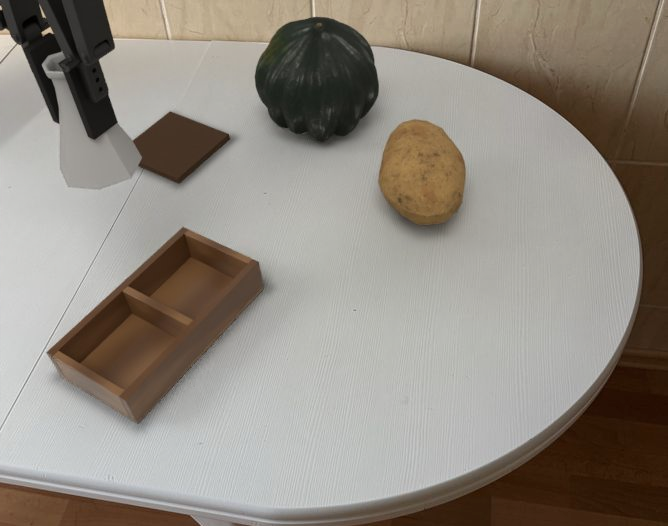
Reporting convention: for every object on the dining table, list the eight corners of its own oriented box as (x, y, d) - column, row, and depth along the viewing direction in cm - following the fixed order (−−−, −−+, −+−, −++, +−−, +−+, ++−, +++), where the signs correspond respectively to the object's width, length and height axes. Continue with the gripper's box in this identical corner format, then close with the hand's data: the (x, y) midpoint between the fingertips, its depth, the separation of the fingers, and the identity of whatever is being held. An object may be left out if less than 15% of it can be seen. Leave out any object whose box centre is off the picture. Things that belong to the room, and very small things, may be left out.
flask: (143, 135, 65) (110, 31, 57) (142, 186, 60) (107, 81, 52) (63, 146, 64) (20, 42, 56) (57, 198, 60) (9, 94, 52)
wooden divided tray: (61, 377, 68) (45, 352, 65) (191, 253, 77) (183, 226, 74) (137, 424, 64) (125, 400, 61) (264, 288, 74) (259, 261, 70)
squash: (294, 32, 94) (254, -18, 79) (401, 53, 90) (379, 5, 76) (268, 138, 96) (223, 108, 81) (372, 163, 92) (345, 136, 78)
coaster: (118, 157, 88) (116, 152, 88) (171, 116, 93) (169, 110, 92) (178, 183, 85) (177, 178, 84) (230, 139, 89) (229, 133, 89)
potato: (384, 253, 76) (385, 196, 69) (372, 170, 84) (371, 112, 78) (474, 246, 76) (483, 188, 69) (453, 163, 84) (459, 105, 78)
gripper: (101, -231, 39) (189, 129, 58) (-83, -264, 45) (51, 71, 64) (-6, -188, 35) (125, 180, 54) (-190, -230, 41) (-15, 115, 60)
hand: (85, 121), depth 59 cm, fingers closed on flask, 3 cm apart
